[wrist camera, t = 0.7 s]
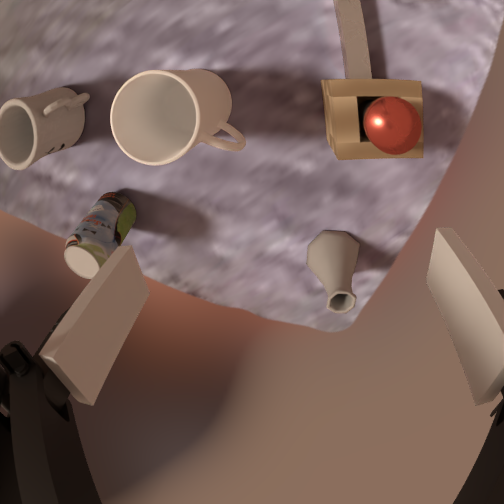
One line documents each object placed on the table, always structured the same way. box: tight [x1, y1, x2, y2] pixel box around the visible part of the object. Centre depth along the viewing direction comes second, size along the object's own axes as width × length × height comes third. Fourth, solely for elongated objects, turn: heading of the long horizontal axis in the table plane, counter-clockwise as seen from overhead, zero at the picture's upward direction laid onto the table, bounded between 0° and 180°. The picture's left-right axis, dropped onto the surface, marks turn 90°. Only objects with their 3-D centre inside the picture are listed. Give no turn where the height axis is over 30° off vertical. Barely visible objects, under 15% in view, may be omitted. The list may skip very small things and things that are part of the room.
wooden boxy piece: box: [321, 79, 423, 160], centre depth 26 cm, size 7×8×9 cm
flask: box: [306, 231, 360, 313], centre depth 36 cm, size 7×7×10 cm
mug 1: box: [0, 87, 90, 170], centre depth 29 cm, size 12×9×10 cm
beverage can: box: [64, 192, 136, 279], centre depth 35 cm, size 6×7×12 cm
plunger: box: [358, 96, 422, 155], centre depth 22 cm, size 4×4×7 cm
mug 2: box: [110, 69, 246, 165], centre depth 27 cm, size 12×8×12 cm
